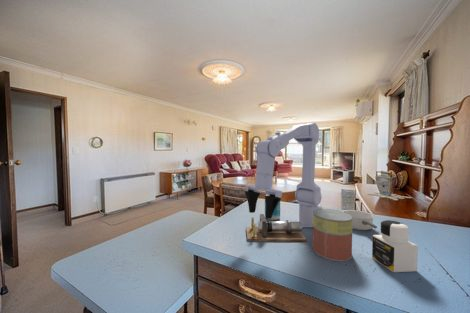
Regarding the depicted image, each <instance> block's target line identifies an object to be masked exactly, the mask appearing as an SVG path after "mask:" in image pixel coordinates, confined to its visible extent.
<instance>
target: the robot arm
mask: <svg viewBox="0 0 470 313" xmlns="http://www.w3.org/2000/svg"><path fill="white" fill-rule="evenodd" d="M319 137H320V129H319V126H318V124H317V123H316V122H312V123H303V124H294V125H292V126H290V128H288V130H286V131H285V132H283V131H275V134H274V135H272V136H269V137H267V139H266V140H260V141H259V142H258V143H257V144H256V146H255V153H256V161H257V164H256V170H255V172H256V173H255V179H254V180H255V182H254V185H251V184H246V188H245V190H246V191H244V195H245V196H246V199H247V205H248V212H249V213H252V214H253V213H255V212H256V208H257V204H258V203H257V202H258V199H259V197H260V194H264V202H265V201H266V214H265V213H264V216H266V220H269V219H270V218H272V215H273V212H274V210H275V208H276V206H277V204H278V203H279V201H280V202H281V200H282V197H283V191H282V190H279V189H278V190H277V189H274V188H272V187H273V179H274V168H275V162H276V161H275V160H276V157H278V156H279V154H280V151H281V150H282V149H284V148H286V147H287V146H288V145H289V144H290V141H291V140H293V139H294V140H295V142H297V143H298V144H300V145H301V146H302V147H303V148H302V149H303V151H302V169H301V170H302V172H301V182H299V183H298V184H296V188H295V191H294V192H295V193H294V198H295V200H296V201H297V204H298V219H295V221H300V222H301V225H302V228H313V211H315V210H318V209H323V206H322V205H321V202H322V193H321V187H320V186H319V185H317V184H316V182H315V173H316V148H317V144H318V143H319V139H320V138H319ZM265 195H270V196H265ZM279 197H280V198H279Z"/></svg>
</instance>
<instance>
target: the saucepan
mask: <svg viewBox="0 0 470 313" xmlns="http://www.w3.org/2000/svg"><path fill="white" fill-rule="evenodd" d="M342 212H345V213H348V214H350V215H351V216H352V217H353V219H352V230H358V231H369V230H371V229H377V228H378V226H377V225H375V224H373V219H374V217H375V215H373V214H372V213H370V212H366V211H363V210H362V211H361V210H356V209H345V210H342Z"/></svg>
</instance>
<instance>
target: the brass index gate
mask: <svg viewBox="0 0 470 313" xmlns="http://www.w3.org/2000/svg"><path fill="white" fill-rule="evenodd" d="M254 219H255V217H253V216H251V226H249V227H250V230H253V235H252V237H257V235H255V227H256V223H255V220H254Z"/></svg>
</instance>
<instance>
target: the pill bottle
mask: <svg viewBox="0 0 470 313" xmlns="http://www.w3.org/2000/svg"><path fill="white" fill-rule="evenodd" d="M265 196H270V195H267V194H264V197H265ZM279 198H281V197H279ZM265 214H266V201H265V200H264V216H265ZM265 218H266V216H265ZM280 218H281V200H280V201H279V203H278V204H277V206H276V208H275V210H274V212H273V215H272V218H270V219H268V221H279V219H280ZM266 219H267V218H266Z"/></svg>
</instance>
